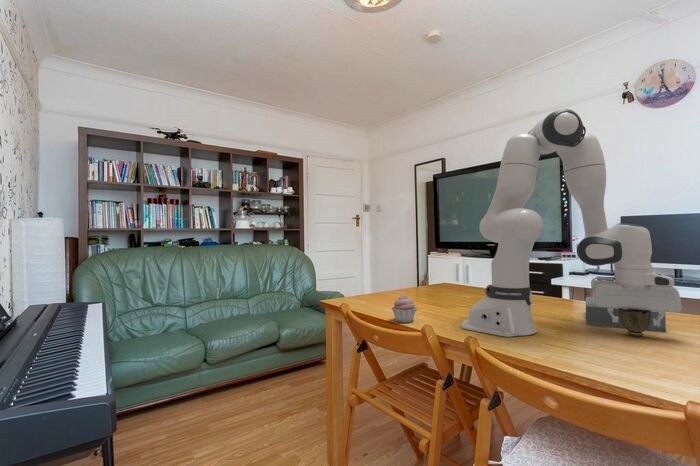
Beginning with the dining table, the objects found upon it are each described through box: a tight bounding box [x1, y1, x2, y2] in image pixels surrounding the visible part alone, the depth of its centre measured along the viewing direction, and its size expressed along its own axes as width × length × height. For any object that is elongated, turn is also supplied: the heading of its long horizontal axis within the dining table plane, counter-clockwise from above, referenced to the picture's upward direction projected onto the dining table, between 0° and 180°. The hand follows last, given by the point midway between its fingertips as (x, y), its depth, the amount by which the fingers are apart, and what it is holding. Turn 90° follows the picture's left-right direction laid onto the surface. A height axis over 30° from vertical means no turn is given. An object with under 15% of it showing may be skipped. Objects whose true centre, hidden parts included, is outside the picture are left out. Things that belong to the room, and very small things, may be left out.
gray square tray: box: [585, 296, 667, 333], centre depth 119 cm, size 20×20×6 cm
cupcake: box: [391, 293, 418, 324], centre depth 127 cm, size 9×9×10 cm
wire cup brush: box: [619, 308, 651, 338], centre depth 102 cm, size 8×7×8 cm
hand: (635, 324), depth 103 cm, fingers open, 8 cm apart
